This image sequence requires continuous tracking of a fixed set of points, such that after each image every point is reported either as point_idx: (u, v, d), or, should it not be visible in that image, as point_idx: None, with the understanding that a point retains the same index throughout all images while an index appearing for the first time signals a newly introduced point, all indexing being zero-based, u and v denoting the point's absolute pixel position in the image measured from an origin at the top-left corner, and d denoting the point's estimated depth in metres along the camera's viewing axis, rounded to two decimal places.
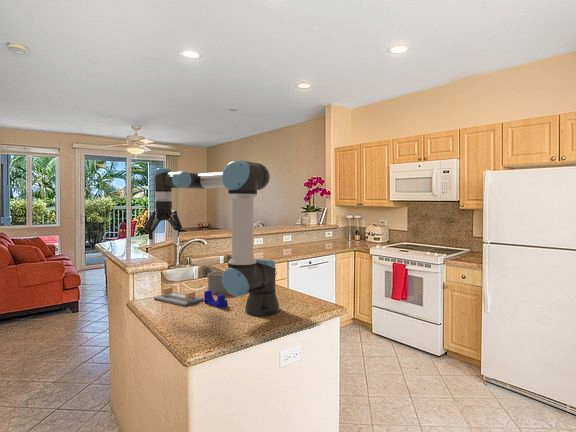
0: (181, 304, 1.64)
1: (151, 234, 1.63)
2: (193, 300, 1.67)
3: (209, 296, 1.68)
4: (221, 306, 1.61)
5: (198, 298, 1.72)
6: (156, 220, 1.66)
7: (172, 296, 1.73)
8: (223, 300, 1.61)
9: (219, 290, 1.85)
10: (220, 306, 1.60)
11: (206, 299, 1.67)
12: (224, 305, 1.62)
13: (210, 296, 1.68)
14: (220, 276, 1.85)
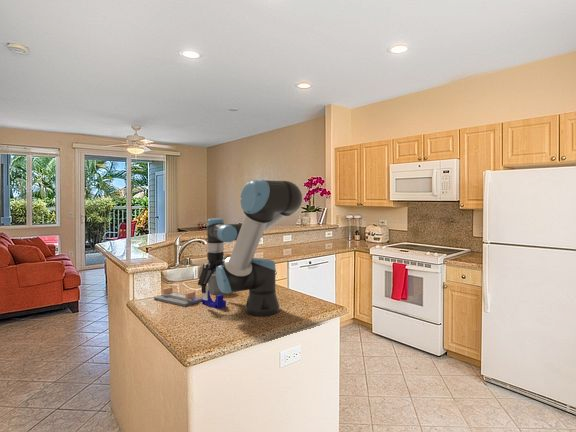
0: (181, 304, 1.64)
1: (204, 287, 1.59)
2: (193, 300, 1.67)
3: None
4: (219, 306, 1.60)
5: (198, 298, 1.72)
6: (209, 272, 1.62)
7: (172, 296, 1.73)
8: (221, 300, 1.61)
9: (219, 290, 1.85)
10: (218, 306, 1.60)
11: (204, 300, 1.66)
12: (222, 305, 1.61)
13: (208, 297, 1.67)
14: None
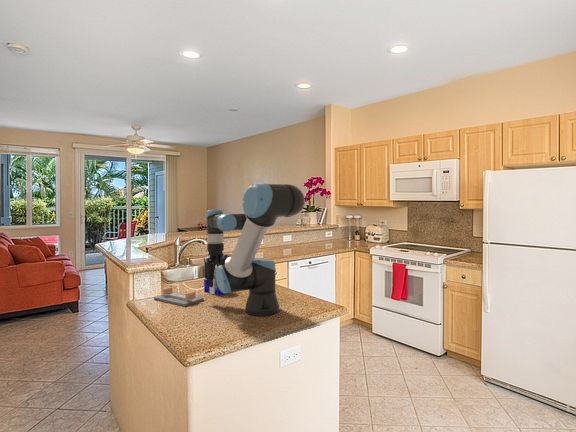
0: (181, 304, 1.64)
1: (211, 281, 1.62)
2: (193, 300, 1.67)
3: None
4: (223, 293, 1.61)
5: (198, 298, 1.72)
6: (211, 265, 1.62)
7: (172, 296, 1.73)
8: None
9: None
10: (222, 293, 1.60)
11: (206, 287, 1.66)
12: None
13: None
14: None
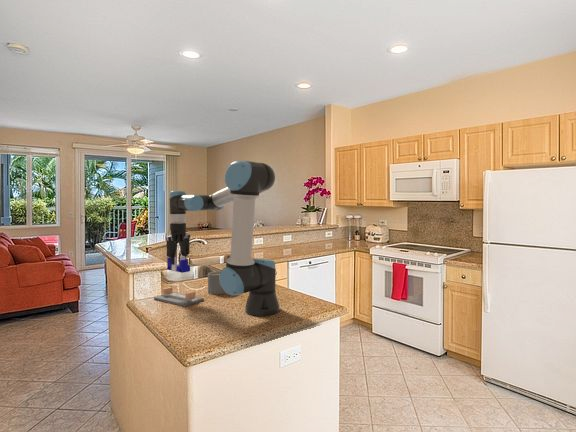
0: (181, 304, 1.64)
1: (173, 259, 1.69)
2: (193, 300, 1.67)
3: None
4: (184, 270, 1.68)
5: (198, 298, 1.72)
6: (173, 244, 1.70)
7: (172, 296, 1.73)
8: (185, 265, 1.69)
9: (219, 290, 1.85)
10: (183, 270, 1.68)
11: (169, 265, 1.74)
12: (187, 269, 1.70)
13: None
14: None
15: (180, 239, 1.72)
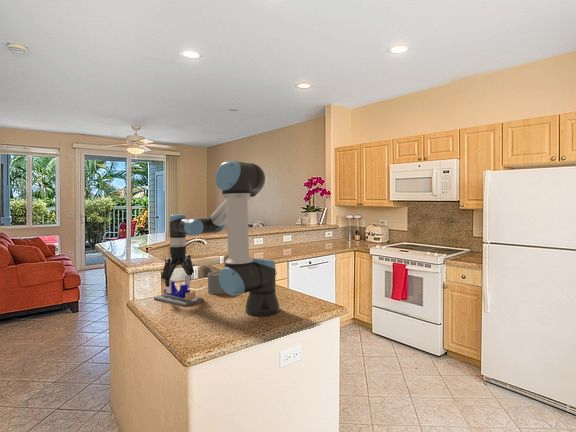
0: (181, 304, 1.64)
1: (168, 281, 1.67)
2: (193, 300, 1.67)
3: (172, 286, 1.75)
4: (184, 296, 1.69)
5: (198, 298, 1.72)
6: (171, 266, 1.69)
7: (172, 296, 1.73)
8: (185, 290, 1.70)
9: (219, 290, 1.85)
10: (183, 296, 1.69)
11: None
12: None
13: (173, 287, 1.75)
14: None
15: (180, 262, 1.73)
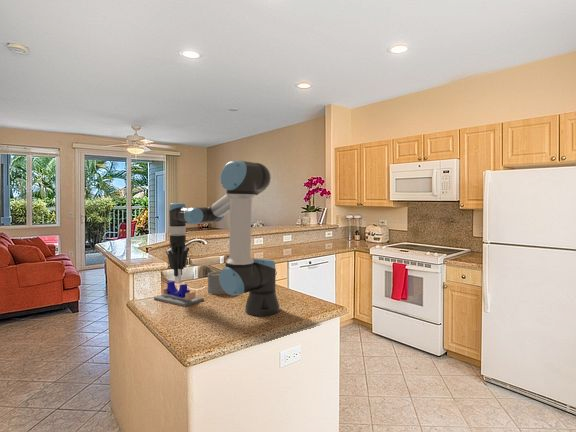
0: (181, 304, 1.64)
1: (176, 271, 1.72)
2: (193, 300, 1.67)
3: (172, 286, 1.75)
4: (183, 295, 1.69)
5: (198, 298, 1.72)
6: (175, 256, 1.71)
7: (172, 296, 1.73)
8: (185, 290, 1.70)
9: (219, 290, 1.85)
10: (182, 295, 1.69)
11: (169, 289, 1.75)
12: None
13: (173, 287, 1.76)
14: None
15: (180, 251, 1.72)
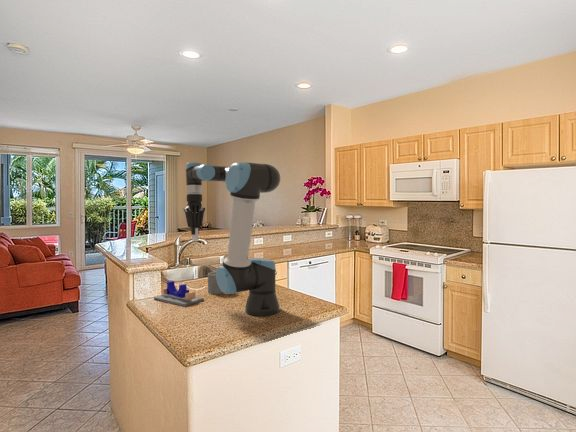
0: (181, 304, 1.64)
1: (194, 229, 1.75)
2: (193, 300, 1.67)
3: (172, 286, 1.76)
4: (183, 295, 1.69)
5: (198, 298, 1.72)
6: (192, 215, 1.75)
7: (172, 296, 1.73)
8: (184, 290, 1.70)
9: (219, 290, 1.85)
10: (182, 295, 1.69)
11: (169, 289, 1.75)
12: None
13: (172, 286, 1.76)
14: None
15: (196, 210, 1.76)
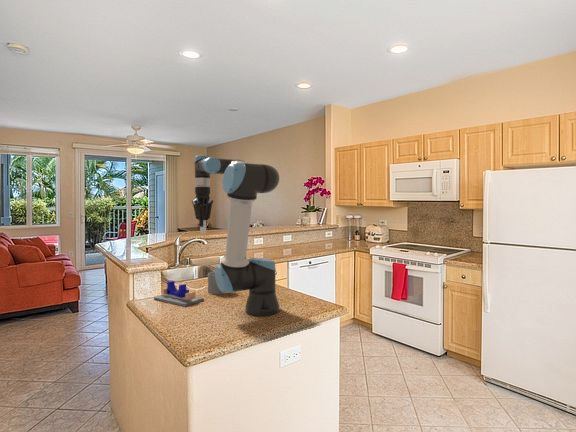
0: (181, 304, 1.64)
1: (202, 221, 1.78)
2: (193, 300, 1.67)
3: (172, 286, 1.76)
4: (182, 295, 1.69)
5: (198, 298, 1.72)
6: (200, 207, 1.77)
7: (172, 296, 1.73)
8: (184, 290, 1.70)
9: (219, 290, 1.85)
10: (181, 295, 1.69)
11: (169, 289, 1.75)
12: None
13: (172, 286, 1.76)
14: None
15: (205, 202, 1.79)
